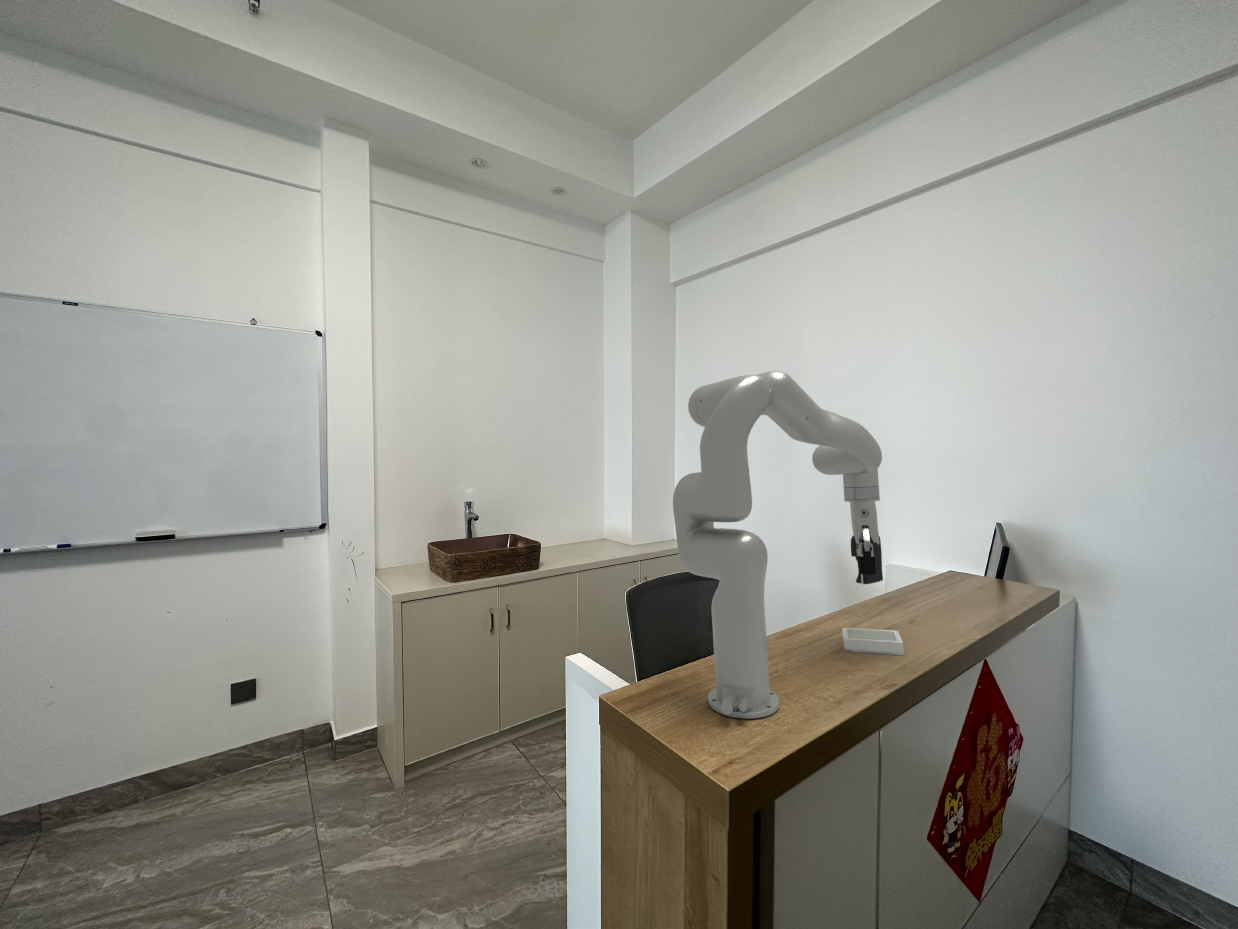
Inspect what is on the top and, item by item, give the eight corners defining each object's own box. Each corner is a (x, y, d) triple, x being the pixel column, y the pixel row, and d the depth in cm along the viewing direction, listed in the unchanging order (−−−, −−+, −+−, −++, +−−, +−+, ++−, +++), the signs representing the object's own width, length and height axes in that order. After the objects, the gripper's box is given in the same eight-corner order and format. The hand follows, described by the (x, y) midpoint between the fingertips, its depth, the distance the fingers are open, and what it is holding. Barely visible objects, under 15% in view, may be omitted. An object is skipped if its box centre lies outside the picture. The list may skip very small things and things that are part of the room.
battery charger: (869, 579, 122) (866, 531, 122) (884, 581, 119) (880, 532, 119) (850, 583, 118) (847, 534, 119) (865, 585, 115) (862, 535, 115)
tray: (904, 655, 112) (903, 642, 112) (844, 651, 116) (843, 639, 116) (898, 642, 120) (897, 630, 120) (843, 639, 124) (842, 627, 125)
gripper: (883, 496, 109) (889, 579, 109) (875, 492, 126) (880, 564, 125) (845, 497, 112) (850, 578, 112) (842, 493, 128) (847, 564, 128)
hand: (866, 570), depth 118 cm, fingers closed on battery charger, 7 cm apart
